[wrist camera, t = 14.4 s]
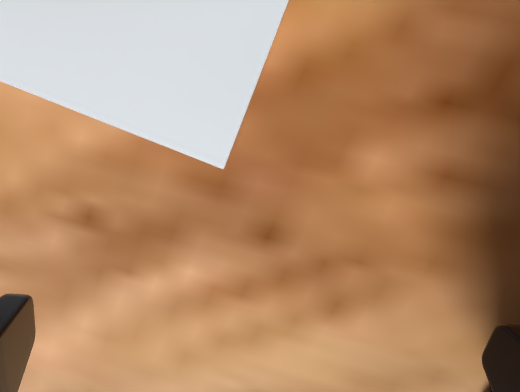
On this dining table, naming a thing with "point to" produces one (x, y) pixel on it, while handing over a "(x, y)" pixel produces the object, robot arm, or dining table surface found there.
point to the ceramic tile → (144, 63)
